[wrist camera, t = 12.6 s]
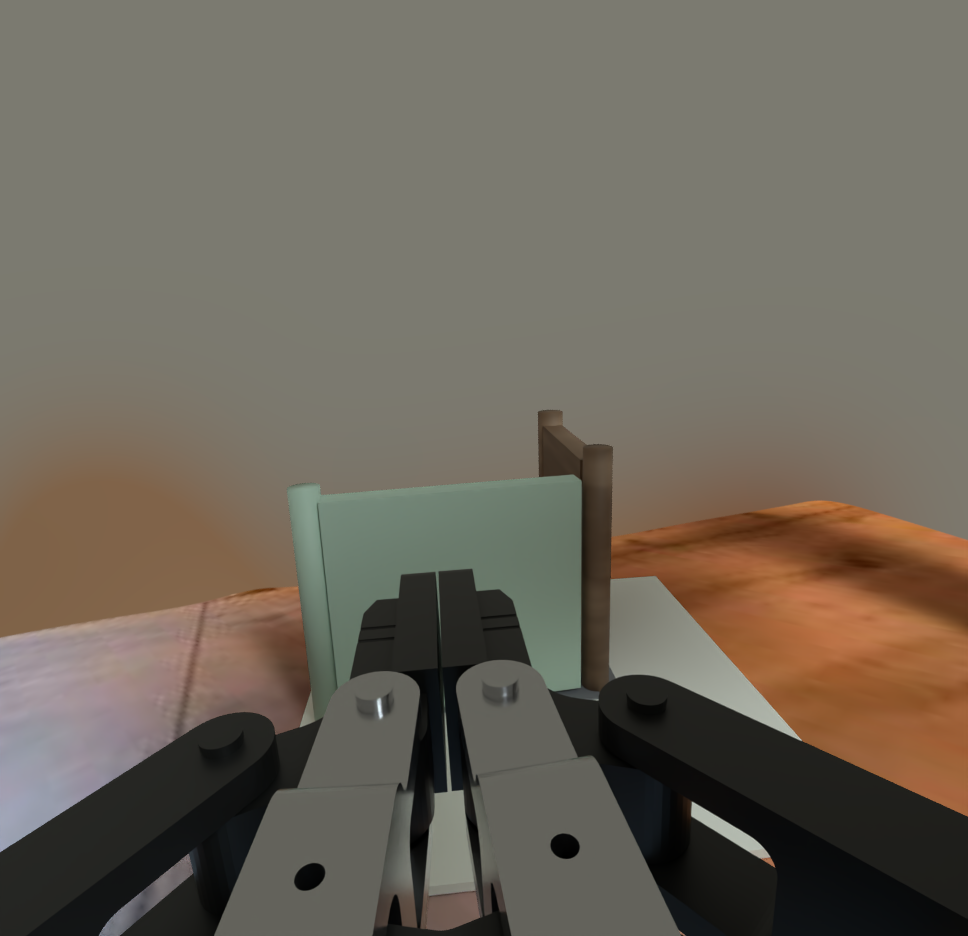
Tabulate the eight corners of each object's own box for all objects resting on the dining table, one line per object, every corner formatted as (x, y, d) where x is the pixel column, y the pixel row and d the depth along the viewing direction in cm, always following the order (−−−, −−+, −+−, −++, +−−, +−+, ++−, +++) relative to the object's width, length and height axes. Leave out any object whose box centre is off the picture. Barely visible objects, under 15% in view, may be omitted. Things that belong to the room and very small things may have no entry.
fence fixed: (560, 584, 43) (559, 409, 40) (613, 691, 31) (618, 449, 28) (538, 586, 43) (536, 410, 40) (583, 694, 31) (584, 451, 28)
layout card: (655, 581, 44) (655, 574, 44) (884, 844, 22) (886, 833, 22) (340, 604, 42) (339, 597, 42) (243, 916, 20) (242, 904, 20)
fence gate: (572, 673, 32) (572, 462, 29) (581, 688, 30) (582, 468, 28) (316, 709, 30) (289, 484, 27) (313, 727, 28) (284, 492, 26)
